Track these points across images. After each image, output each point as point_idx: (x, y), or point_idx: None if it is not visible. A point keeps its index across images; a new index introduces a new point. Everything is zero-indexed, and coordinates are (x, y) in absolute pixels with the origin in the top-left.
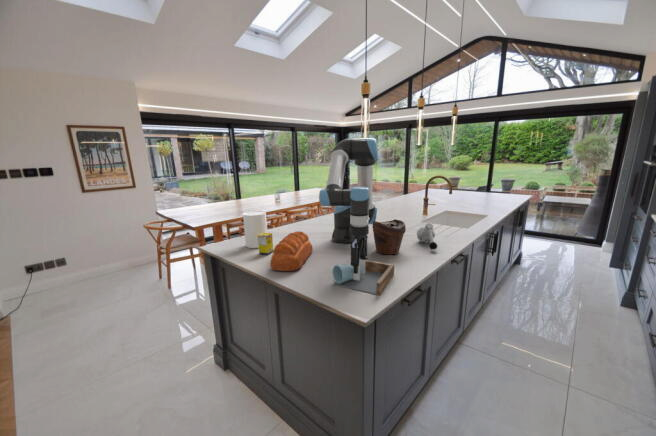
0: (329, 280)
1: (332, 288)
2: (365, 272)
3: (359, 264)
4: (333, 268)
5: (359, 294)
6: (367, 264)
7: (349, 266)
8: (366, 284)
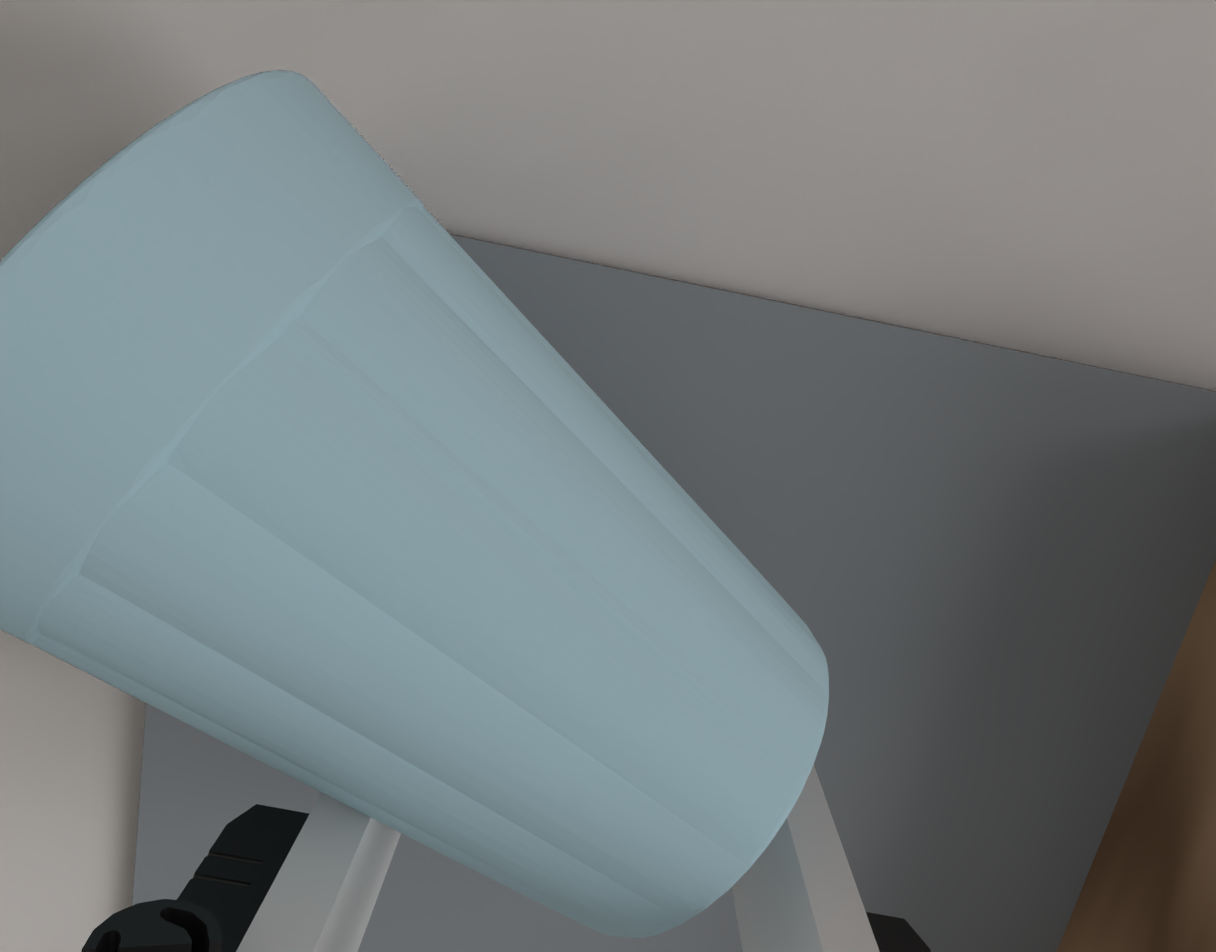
0: (402, 12)
1: (22, 222)
2: (1003, 790)
3: (805, 927)
4: (227, 99)
5: (15, 802)
6: (1209, 935)
7: (335, 743)
8: (409, 882)
